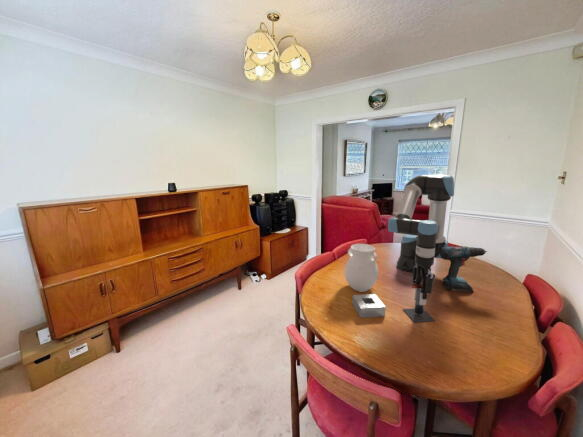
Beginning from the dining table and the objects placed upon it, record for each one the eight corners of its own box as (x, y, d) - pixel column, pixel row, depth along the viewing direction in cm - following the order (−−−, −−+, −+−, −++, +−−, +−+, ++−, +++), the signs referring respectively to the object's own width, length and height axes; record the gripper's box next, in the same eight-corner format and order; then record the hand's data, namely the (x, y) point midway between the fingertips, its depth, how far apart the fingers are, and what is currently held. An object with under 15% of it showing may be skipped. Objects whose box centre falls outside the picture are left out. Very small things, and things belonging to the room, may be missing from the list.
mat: (402, 309, 123) (403, 309, 123) (422, 308, 124) (422, 307, 124) (414, 322, 113) (414, 321, 113) (435, 321, 114) (435, 320, 114)
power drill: (485, 293, 136) (492, 250, 130) (439, 290, 140) (444, 248, 135) (476, 285, 144) (483, 244, 139) (433, 282, 149) (438, 243, 143)
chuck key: (425, 309, 120) (428, 282, 117) (430, 313, 116) (433, 285, 113) (407, 310, 119) (410, 283, 116) (411, 314, 116) (414, 286, 113)
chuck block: (352, 303, 129) (352, 295, 128) (374, 302, 130) (375, 293, 129) (360, 317, 117) (360, 308, 116) (385, 316, 118) (385, 306, 117)
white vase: (382, 286, 146) (385, 246, 140) (368, 299, 133) (370, 255, 127) (354, 277, 158) (355, 239, 152) (338, 288, 145) (339, 247, 139)
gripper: (406, 249, 119) (403, 293, 125) (428, 262, 103) (422, 312, 108) (421, 248, 120) (417, 292, 125) (445, 261, 104) (438, 311, 109)
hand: (419, 301), depth 117 cm, fingers closed on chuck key, 3 cm apart
